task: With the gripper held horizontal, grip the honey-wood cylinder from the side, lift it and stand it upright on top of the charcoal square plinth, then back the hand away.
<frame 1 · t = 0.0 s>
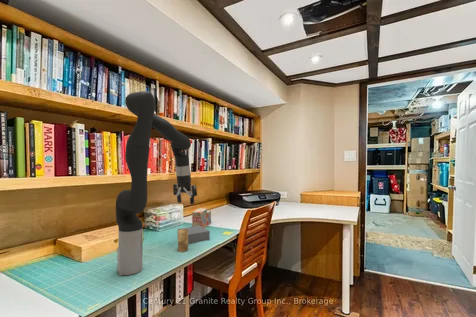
hand: (185, 203, 134), 22 cm above the table, tool pointing down, fingers open, 8 cm apart
printed cardboard box: (202, 226, 170), on the table
cylinder: (183, 250, 126), on the table
plinth: (193, 238, 144), on the table
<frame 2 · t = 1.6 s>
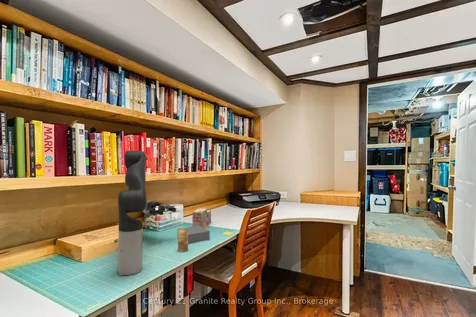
hand: (169, 211, 132), 18 cm above the table, tool horizontal, fingers open, 8 cm apart
nothing on the table moved.
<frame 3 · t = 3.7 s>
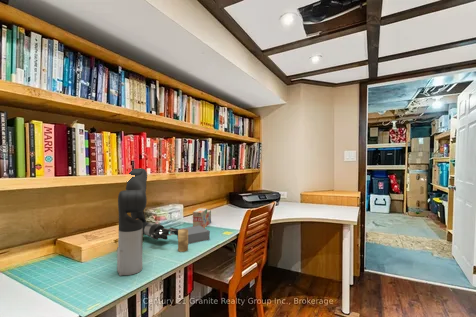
hand: (173, 235, 130), 6 cm above the table, tool horizontal, fingers open, 8 cm apart
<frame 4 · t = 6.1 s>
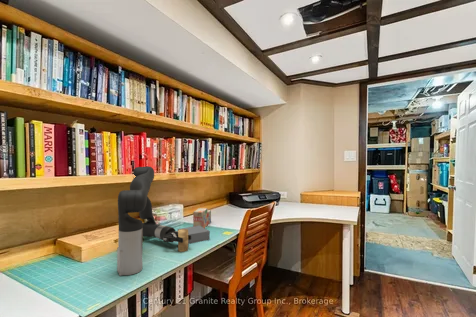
hand: (186, 239, 124), 6 cm above the table, tool horizontal, fingers closed on cylinder, 5 cm apart
cylinder: (183, 249, 126), on the table, touching gripper
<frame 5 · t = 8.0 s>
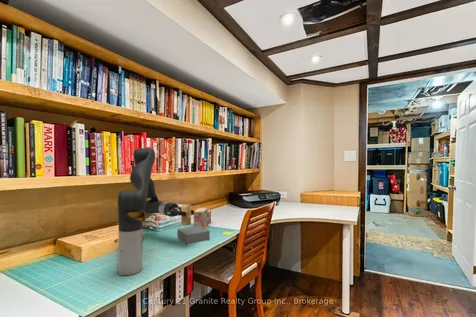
hand: (189, 213, 130), 18 cm above the table, tool horizontal, fingers closed on cylinder, 5 cm apart
cylinder: (186, 223, 131), point 12 cm above the table, touching gripper
when the fingers open (12 cm above the table, at t = 10.2 s): cylinder drops 1 cm, resting on plinth.
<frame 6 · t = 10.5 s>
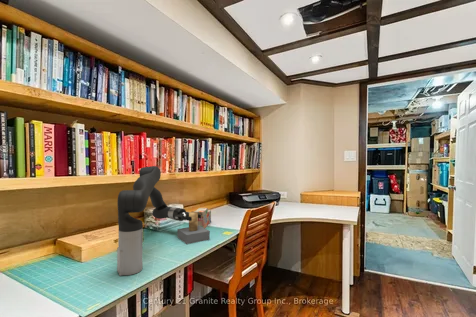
hand: (196, 217, 143), 12 cm above the table, tool horizontal, fingers open, 7 cm apart
cylinder: (193, 229, 144), point 5 cm above the table, touching plinth
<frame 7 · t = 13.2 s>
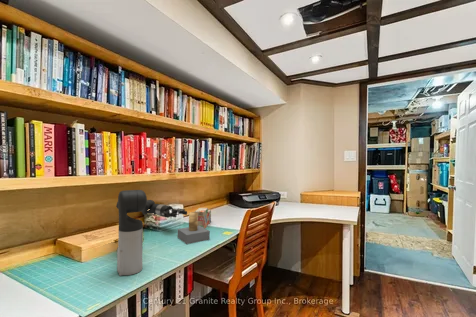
hand: (181, 214, 151), 13 cm above the table, tool horizontal, fingers open, 8 cm apart
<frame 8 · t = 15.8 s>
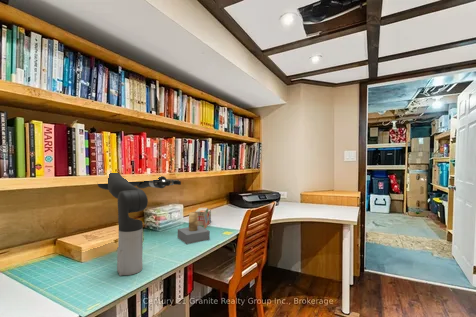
hand: (174, 183, 146), 32 cm above the table, tool horizontal, fingers open, 8 cm apart
at the end: cylinder inside the target area on the plinth (0.1 cm from its centre), point 5.0 cm above the plinth's base; cylinder tilted 0°; the gripper is holding nothing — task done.
